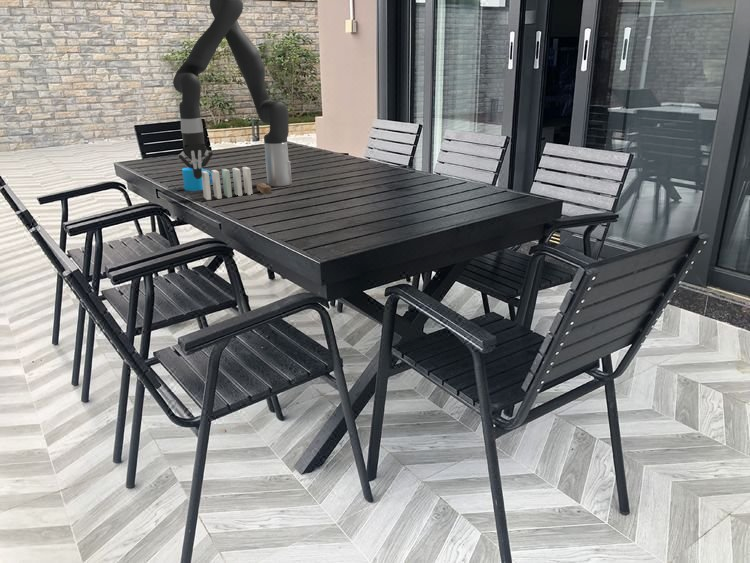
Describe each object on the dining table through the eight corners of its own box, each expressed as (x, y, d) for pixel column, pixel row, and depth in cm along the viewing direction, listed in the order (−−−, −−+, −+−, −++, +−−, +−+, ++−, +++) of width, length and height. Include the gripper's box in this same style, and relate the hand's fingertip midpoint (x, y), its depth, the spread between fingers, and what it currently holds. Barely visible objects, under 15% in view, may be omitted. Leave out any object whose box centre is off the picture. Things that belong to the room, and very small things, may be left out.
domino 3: (228, 194, 237) (225, 168, 234) (232, 197, 233) (229, 170, 230) (224, 195, 237) (221, 169, 233) (228, 197, 233) (225, 171, 229)
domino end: (248, 192, 241) (246, 166, 237) (252, 194, 237) (250, 168, 233) (244, 192, 240) (242, 167, 237) (248, 195, 236) (246, 169, 233)
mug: (186, 191, 244) (183, 171, 241) (182, 188, 251) (180, 168, 248) (216, 188, 249) (214, 168, 246) (212, 184, 256) (210, 165, 253)
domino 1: (207, 197, 234) (205, 170, 230) (211, 199, 230) (208, 172, 226) (203, 197, 233) (201, 171, 230) (207, 200, 229) (204, 173, 226)
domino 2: (218, 195, 236) (215, 169, 232) (221, 198, 232) (219, 171, 228) (214, 196, 235) (211, 170, 231) (217, 198, 231) (214, 172, 227)
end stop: (264, 189, 246) (263, 183, 245) (271, 193, 238) (271, 186, 237) (256, 190, 244) (256, 183, 243) (264, 194, 237) (263, 187, 236)
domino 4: (238, 193, 239) (236, 167, 236) (242, 195, 235) (240, 169, 232) (234, 193, 238) (232, 168, 235) (238, 196, 234) (235, 170, 231)
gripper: (175, 133, 216) (182, 182, 222) (213, 130, 221) (218, 178, 227) (171, 131, 222) (177, 178, 228) (208, 128, 228) (213, 175, 234)
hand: (198, 178), depth 228 cm, fingers closed
